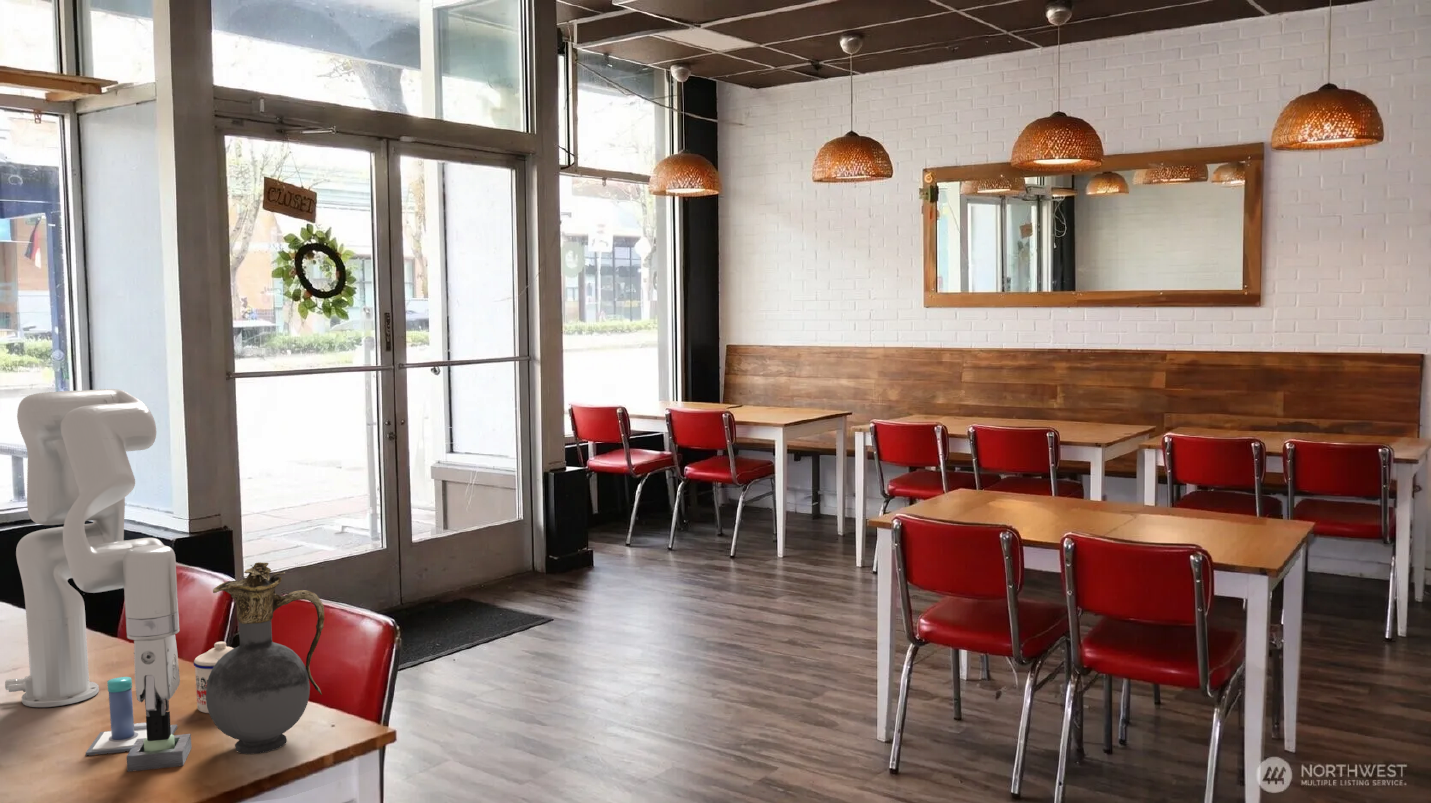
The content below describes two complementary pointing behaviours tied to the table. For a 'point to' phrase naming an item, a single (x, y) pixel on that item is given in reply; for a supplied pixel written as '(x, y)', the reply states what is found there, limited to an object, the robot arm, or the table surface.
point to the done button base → (159, 755)
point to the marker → (121, 708)
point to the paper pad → (119, 741)
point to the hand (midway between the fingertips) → (159, 738)
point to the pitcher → (260, 668)
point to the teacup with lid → (207, 671)
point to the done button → (159, 744)
